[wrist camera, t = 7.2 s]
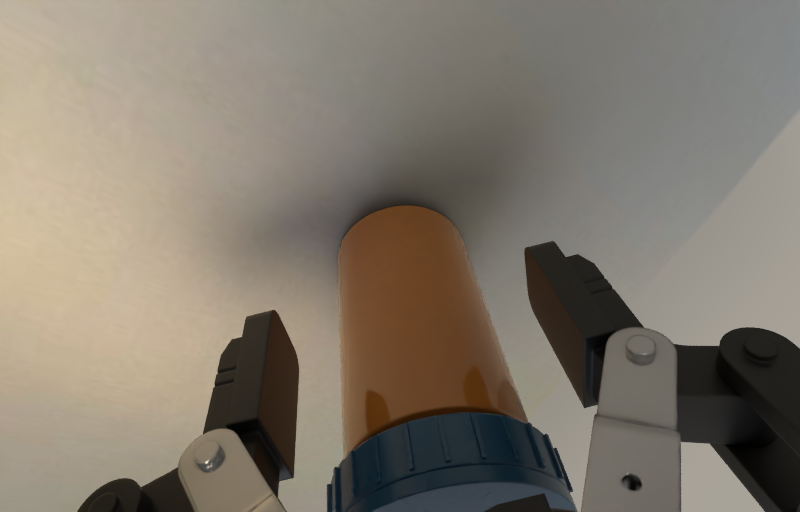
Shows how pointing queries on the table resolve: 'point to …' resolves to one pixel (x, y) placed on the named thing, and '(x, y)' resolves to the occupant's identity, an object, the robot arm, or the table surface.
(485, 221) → the table surface
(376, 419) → the jar
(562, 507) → the jar lid
